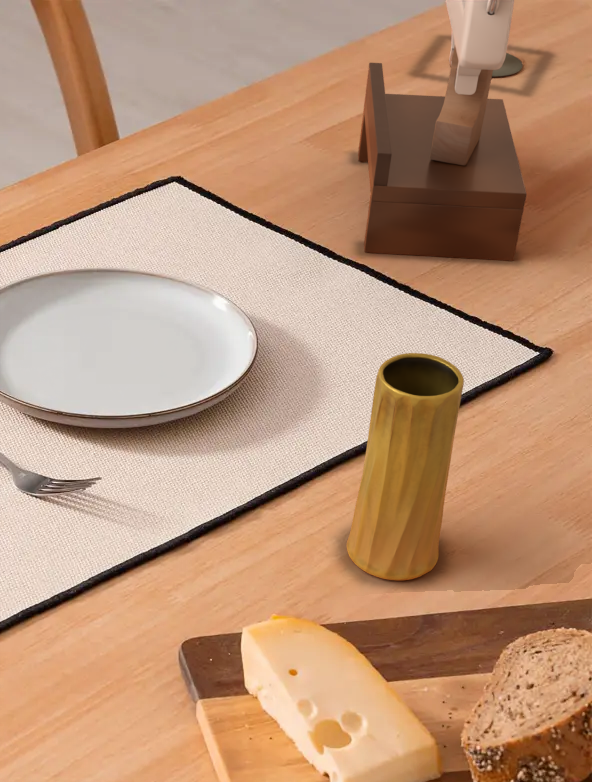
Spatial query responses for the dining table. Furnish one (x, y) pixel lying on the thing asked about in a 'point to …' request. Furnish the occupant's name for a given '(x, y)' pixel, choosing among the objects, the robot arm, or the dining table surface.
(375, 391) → the vase
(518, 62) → the coffee cup
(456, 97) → the wooden block
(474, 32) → the robot arm
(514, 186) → the wooden box with backboard
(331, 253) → the dining table surface
